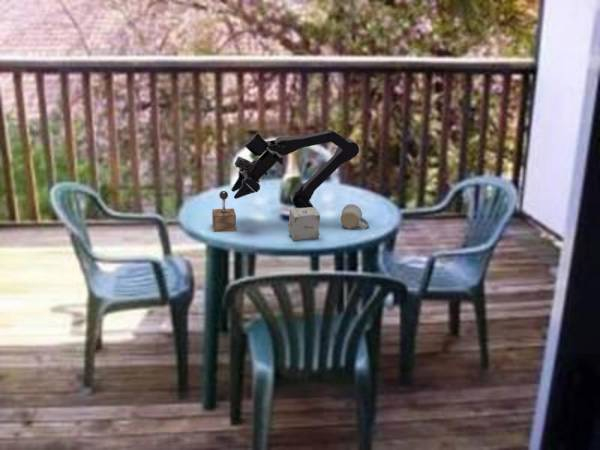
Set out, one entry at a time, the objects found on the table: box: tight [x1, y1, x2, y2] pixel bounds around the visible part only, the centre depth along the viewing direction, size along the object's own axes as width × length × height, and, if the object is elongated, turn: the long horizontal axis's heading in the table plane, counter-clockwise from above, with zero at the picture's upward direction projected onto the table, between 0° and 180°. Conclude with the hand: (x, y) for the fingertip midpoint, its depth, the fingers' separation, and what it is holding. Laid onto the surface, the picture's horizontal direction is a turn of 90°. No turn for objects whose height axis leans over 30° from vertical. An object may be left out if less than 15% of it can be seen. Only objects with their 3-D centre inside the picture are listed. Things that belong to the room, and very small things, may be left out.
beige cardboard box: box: [288, 206, 321, 242], centre depth 268 cm, size 10×8×10 cm
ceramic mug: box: [340, 203, 370, 230], centre depth 281 cm, size 11×8×8 cm
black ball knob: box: [218, 190, 229, 213], centre depth 275 cm, size 6×6×9 cm
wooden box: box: [211, 208, 237, 232], centre depth 277 cm, size 8×8×6 cm
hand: (233, 194), depth 275 cm, fingers open, 9 cm apart
